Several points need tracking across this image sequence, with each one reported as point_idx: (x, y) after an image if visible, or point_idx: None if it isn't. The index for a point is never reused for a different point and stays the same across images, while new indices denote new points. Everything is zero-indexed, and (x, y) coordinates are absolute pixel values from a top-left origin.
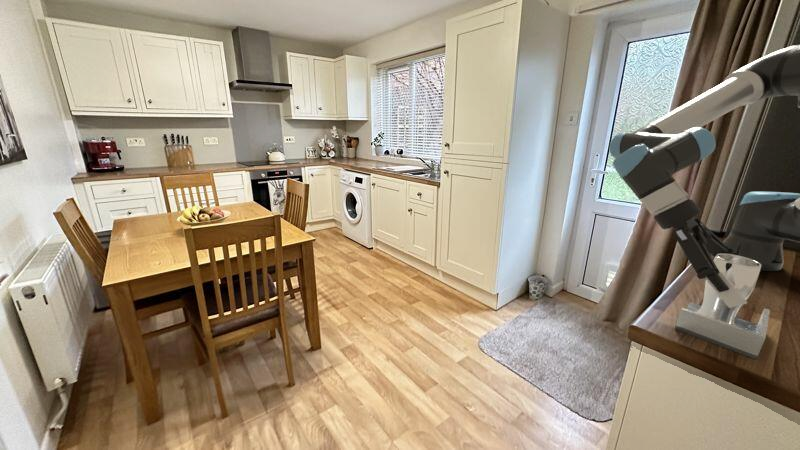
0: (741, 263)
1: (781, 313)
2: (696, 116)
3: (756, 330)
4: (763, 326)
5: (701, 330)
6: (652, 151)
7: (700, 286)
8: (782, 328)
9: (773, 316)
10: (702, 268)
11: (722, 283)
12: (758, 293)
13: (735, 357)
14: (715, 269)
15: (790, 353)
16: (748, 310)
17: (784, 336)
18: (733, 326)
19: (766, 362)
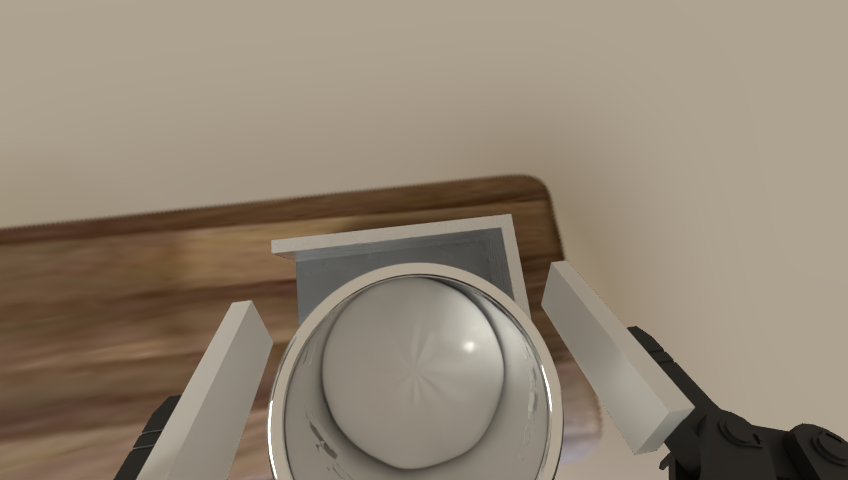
0: (298, 384)
1: (117, 239)
2: None
3: (354, 254)
4: (436, 229)
5: None
6: None
7: (70, 464)
8: (241, 221)
9: (166, 249)
10: None
11: (671, 360)
12: None
13: (522, 258)
14: (765, 445)
15: (384, 192)
16: (180, 300)
17: (293, 212)
18: (520, 279)
19: (480, 215)
